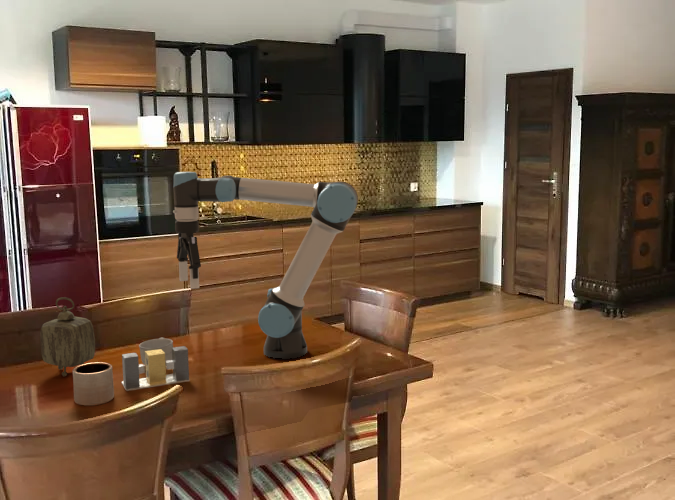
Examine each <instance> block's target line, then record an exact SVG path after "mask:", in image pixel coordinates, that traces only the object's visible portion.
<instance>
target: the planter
mask: <svg viewBox="0 0 675 500" xmlns="http://www.w3.org/2000/svg"><path fill="white" fill-rule="evenodd" d="M72 383H73V400H74V402H75V404H77V405H79V406H82V405H84V407H94V406H95V405H96V406H100V405H104V404H107V403H109V402H110V401H112V400H113V398H114V397H115V389H114V388H115V387H114V374H113V365H112V364H110V363H109V362H102V361H99V362H98V361H97V362H94V361H93V362H88V363H86V362H85V363H84V364H82V365H78V366H75V367H73V369H72ZM96 406H95V407H96Z"/></svg>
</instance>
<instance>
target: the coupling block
mask: <svg viewBox="0 0 675 500" xmlns="http://www.w3.org/2000/svg"><path fill="white" fill-rule="evenodd" d="M166 375H167V369H166V365H165V353H164V352H163V351H162V349H158V350H151V351H145V378H146V380H147V381H148V383H149V384H155V383H162V382H166Z"/></svg>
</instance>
